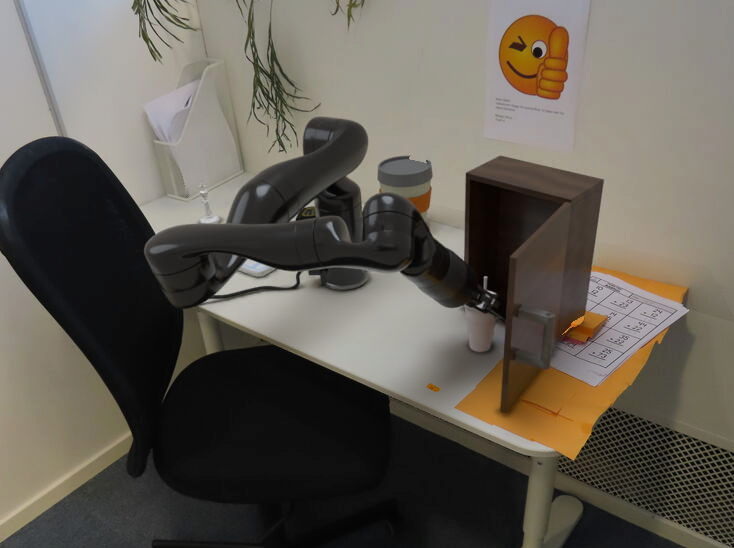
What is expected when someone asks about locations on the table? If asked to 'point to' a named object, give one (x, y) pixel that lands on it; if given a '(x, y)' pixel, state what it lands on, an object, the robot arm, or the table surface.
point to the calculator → (255, 268)
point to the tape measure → (306, 213)
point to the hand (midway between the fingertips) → (485, 309)
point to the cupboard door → (533, 304)
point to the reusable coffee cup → (407, 180)
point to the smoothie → (480, 326)
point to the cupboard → (530, 225)
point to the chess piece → (207, 209)
